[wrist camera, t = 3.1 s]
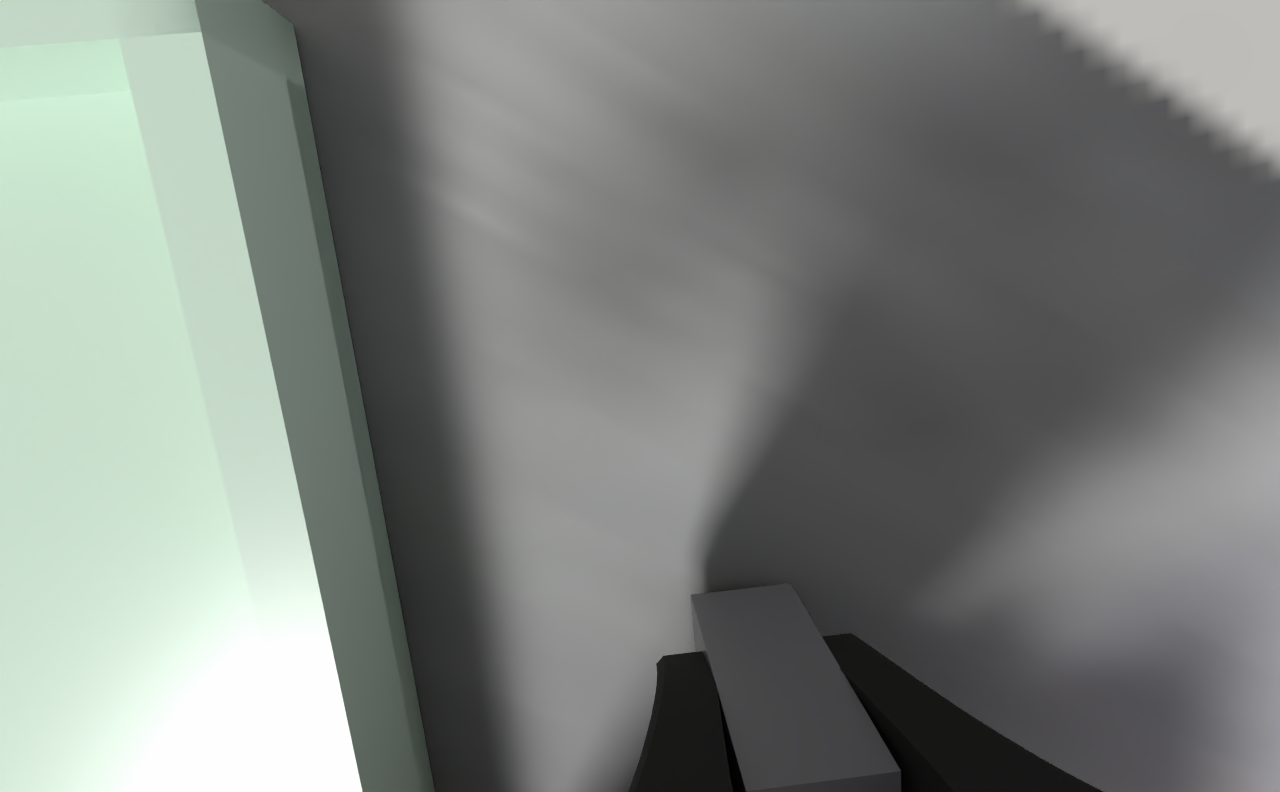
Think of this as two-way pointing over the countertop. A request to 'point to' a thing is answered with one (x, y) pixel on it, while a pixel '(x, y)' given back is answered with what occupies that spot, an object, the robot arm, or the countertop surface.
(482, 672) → the countertop surface
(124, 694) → the tray
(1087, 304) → the countertop surface
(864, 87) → the countertop surface
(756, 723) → the grey bottle-shaped block
